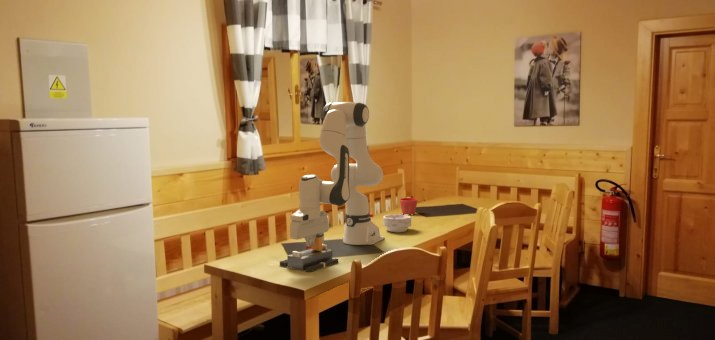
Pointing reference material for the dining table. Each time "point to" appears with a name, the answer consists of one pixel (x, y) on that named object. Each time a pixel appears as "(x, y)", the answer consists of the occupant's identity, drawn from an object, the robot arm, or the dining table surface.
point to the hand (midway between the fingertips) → (310, 245)
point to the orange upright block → (317, 243)
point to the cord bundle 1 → (284, 263)
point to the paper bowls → (397, 222)
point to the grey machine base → (308, 258)
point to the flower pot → (408, 205)
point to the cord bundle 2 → (321, 265)
